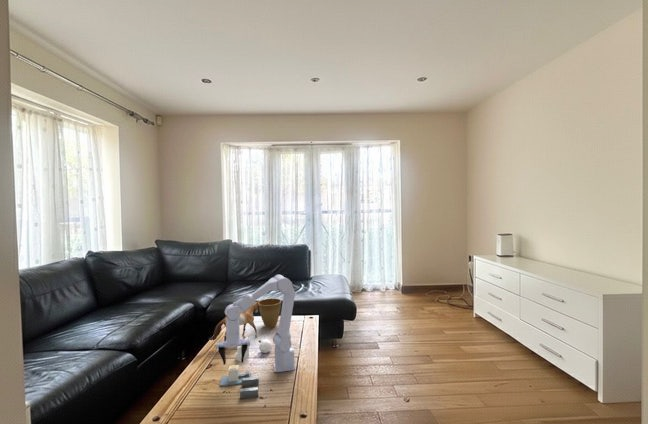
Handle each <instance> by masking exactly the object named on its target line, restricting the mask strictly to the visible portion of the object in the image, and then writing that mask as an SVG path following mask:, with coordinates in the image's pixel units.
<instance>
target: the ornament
mask: <svg viewBox="0 0 648 424" xmlns="http://www.w3.org/2000/svg"><path fill="white" fill-rule="evenodd" d="M258 345H259V346H258V349H259V351H260V352H261V353H263V354H267V353H269V352H270V351H271V350H272V346H273V345H272V342H271V340H269V339H266V338H265V339H263V340H260V342H259V344H258Z"/></svg>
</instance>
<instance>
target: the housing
mask: <svg viewBox="0 0 648 424" xmlns="http://www.w3.org/2000/svg"><path fill="white" fill-rule="evenodd" d="M259 379H260V378H259V376H251V377H249V378H242V384H241V388H240V390H239V392H240V393H239V395H240V396H239V397H240V400H245V399H246V400H247V399H253V398H259V383H260V382H259Z"/></svg>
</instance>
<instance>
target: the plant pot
mask: <svg viewBox="0 0 648 424" xmlns="http://www.w3.org/2000/svg"><path fill="white" fill-rule="evenodd" d="M257 302H258V301H257ZM258 305H259V306H258V309H259V310H258V311H259V313H260V318H261V320H262V323H263V325H264V327H265V328H267V329H268V328H270V329H271V328H275V327H277V324H278V320H279V319H280V314H281V309H282V300H281V299H279V298H274V297H273V298H272V297H271V298H264V299H262V300H259V302H258Z"/></svg>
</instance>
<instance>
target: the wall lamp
mask: <svg viewBox="0 0 648 424" xmlns="http://www.w3.org/2000/svg"><path fill="white" fill-rule="evenodd" d="M249 373H250V371H245V373H244V374H245V375H243V376H239V374H240V365H239V364H234V365H233V364H232V365H229V368H228V374H227V376H228V379H229V382H230V381H238V378H243V377H245V378H249Z"/></svg>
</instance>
